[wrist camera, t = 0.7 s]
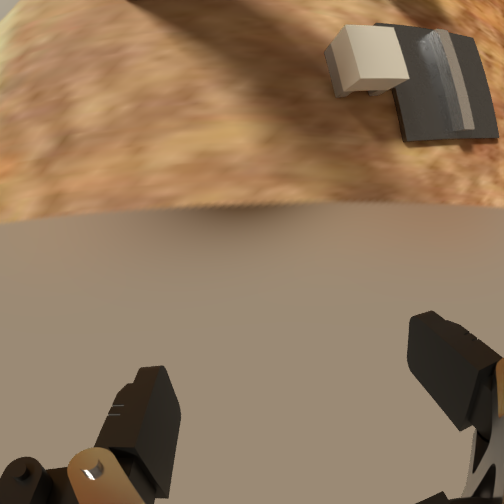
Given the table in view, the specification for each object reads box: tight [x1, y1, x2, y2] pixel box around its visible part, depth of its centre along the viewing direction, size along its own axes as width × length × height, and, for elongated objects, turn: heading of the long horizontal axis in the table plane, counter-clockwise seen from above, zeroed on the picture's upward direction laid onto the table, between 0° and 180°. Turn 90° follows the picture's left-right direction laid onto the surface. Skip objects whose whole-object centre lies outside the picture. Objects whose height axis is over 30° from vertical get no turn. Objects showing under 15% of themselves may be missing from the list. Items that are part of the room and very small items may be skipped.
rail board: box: [373, 23, 499, 142], centre depth 30 cm, size 16×18×4 cm
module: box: [324, 25, 409, 98], centre depth 28 cm, size 6×6×8 cm
